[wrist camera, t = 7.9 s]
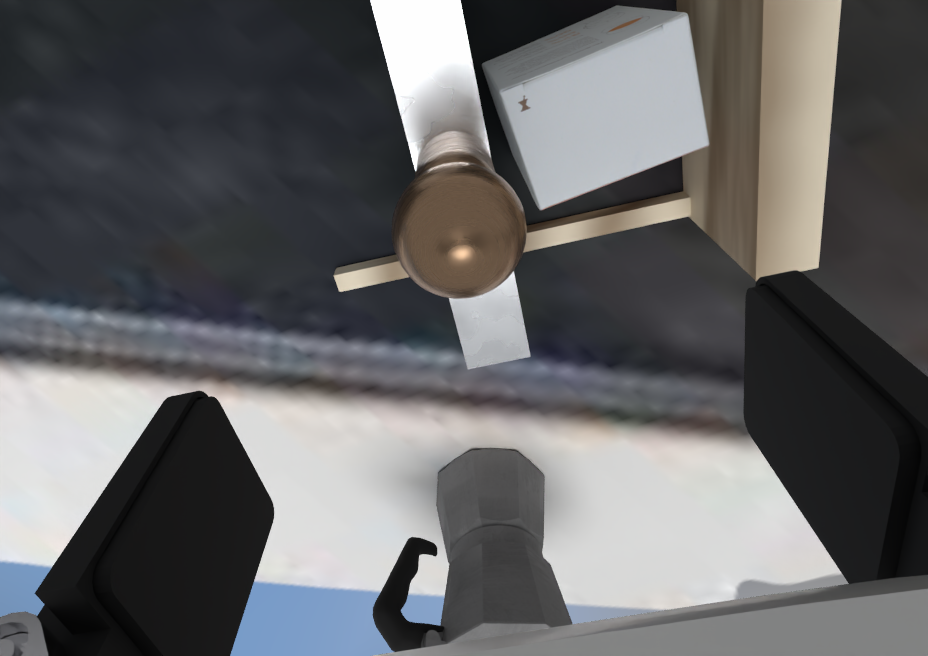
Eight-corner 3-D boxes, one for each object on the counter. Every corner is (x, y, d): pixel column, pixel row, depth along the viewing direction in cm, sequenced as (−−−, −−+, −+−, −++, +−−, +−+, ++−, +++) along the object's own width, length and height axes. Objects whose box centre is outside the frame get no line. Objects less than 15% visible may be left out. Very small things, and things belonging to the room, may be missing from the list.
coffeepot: (587, 473, 49) (655, 703, 34) (530, 545, 53) (568, 779, 38) (414, 411, 45) (400, 636, 30) (368, 493, 49) (334, 730, 34)
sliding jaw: (447, -95, 28) (457, -205, 11) (515, 259, 38) (577, 489, 21) (365, -73, 29) (256, -150, 12) (453, 272, 38) (463, 510, 21)
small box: (511, 155, 36) (535, 215, 27) (479, 61, 33) (493, 91, 24) (642, 104, 35) (714, 149, 26) (620, 1, 32) (690, 10, 23)
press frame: (734, -168, 29) (861, -232, 20) (732, 201, 38) (818, 267, 29) (228, -33, 31) (144, -38, 22) (343, 286, 40) (316, 371, 31)
